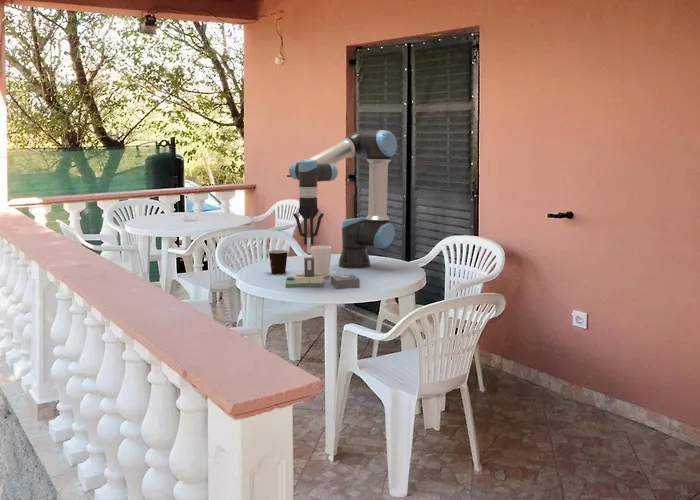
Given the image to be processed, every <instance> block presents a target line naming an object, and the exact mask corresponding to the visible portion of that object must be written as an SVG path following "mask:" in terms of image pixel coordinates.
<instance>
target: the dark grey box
mask: <svg viewBox="0 0 700 500" xmlns="http://www.w3.org/2000/svg"><path fill="white" fill-rule="evenodd" d="M330 285H331V286H332V287H334V288H335V289H336V290H338V289H354V288H360V277H357V276H356V275H355V274H342V275H341V274H339V275H330Z"/></svg>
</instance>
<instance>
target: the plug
mask: <svg viewBox="0 0 700 500" xmlns="http://www.w3.org/2000/svg"><path fill="white" fill-rule="evenodd" d="M303 264H304V273H303V274H304V276H305V277H314V257H312V256H311V257H307V256H306V257H304V259H303Z"/></svg>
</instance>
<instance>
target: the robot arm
mask: <svg viewBox="0 0 700 500" xmlns="http://www.w3.org/2000/svg"><path fill="white" fill-rule="evenodd" d="M397 149H398V143H397V138H396V135H394V133H392V132H391V131H389V130H383V129H380V130H379V129H377V130H375V129H373V130H367V129H363V130H359V131H356V132H353V133H351V134H349V135H347V136H345V137H343V138H341V139H340V141H339V142H338V143H336V144H334V145H332V146H330V147H329V148H326V149H324V150H322V151H321V152H319V153H317V154H314V155H313V156H311V157H309V158H306V159H300V160H299V161H297V162H292V163H291V164H290V166H289V169H288V173H289V176H290V178H292V179H293V180H297V181H298V190H299V191H298V193H299V195H298V196H299V198H298V199H299V202H298V203H299V205H298V206H299V207H298V209H297V210H298V211H296V212H293V215H292V216H293V217H294V219H295V220H296V225H297V228H298V233H299V236H300V237H303V245H304V246H306V253H307V254H311V247H312V246H313V245H314V238H315V237H317V236H318V234H319V231H320V226H321V221H322V218H323V217H324V213H323V212H321V211H320V210H319V208H318V198H317V196H318V182H331V181H334V180H336V178H337V177H338V171H339V170H338V168H337V166H336V165H335V164H337V163H339V162H341V161H342V160H345V159H346V158H347V159H350V158H353V157H355V156H365V159H366V161H367V162H368V163H369V167H368V168H369V169H368V174H369V175H368V210H367V212H368V214H367V216H365V217H354V218H348V219H343V221H342V226H341V238H342V241H341V242H342V243H341V246H342V250H341V253H340V257H339V260H338V266H339V267H341V268H344V269H364V268H368V267H371V260H370V256H369V253H368V250H367V247H373V248H377V249H378V248H379V249H380V248H381V249H382V248H384V249H385V248H387V247H389V246H390V245H391V244H392V242H393V241H394V238H395V233H396V231H395V227H394V225H393V224H392V223H391V222H390V221H391V218H390V217H389V216H388V213H387V212H388V182H389V181H388V174H389V172H388V171H389V163H390V162H391V161H392V157H393V156H394V155H396V152H397ZM300 216H301V217H302V218H303V229H302V226H301V223H300V218H299V217H300ZM316 216H317V221H316V225H315V230H314V218H315V217H316ZM308 220H309V232H310V233H309V236H308Z"/></svg>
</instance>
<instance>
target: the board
mask: <svg viewBox="0 0 700 500" xmlns="http://www.w3.org/2000/svg"><path fill="white" fill-rule="evenodd" d="M322 287H323V288H324V287H325V282H324V283H295V277H294V276H287V277H286V278H285V288H322Z"/></svg>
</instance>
